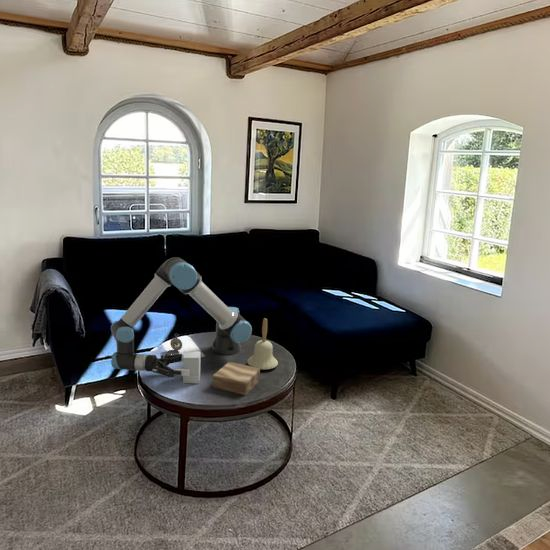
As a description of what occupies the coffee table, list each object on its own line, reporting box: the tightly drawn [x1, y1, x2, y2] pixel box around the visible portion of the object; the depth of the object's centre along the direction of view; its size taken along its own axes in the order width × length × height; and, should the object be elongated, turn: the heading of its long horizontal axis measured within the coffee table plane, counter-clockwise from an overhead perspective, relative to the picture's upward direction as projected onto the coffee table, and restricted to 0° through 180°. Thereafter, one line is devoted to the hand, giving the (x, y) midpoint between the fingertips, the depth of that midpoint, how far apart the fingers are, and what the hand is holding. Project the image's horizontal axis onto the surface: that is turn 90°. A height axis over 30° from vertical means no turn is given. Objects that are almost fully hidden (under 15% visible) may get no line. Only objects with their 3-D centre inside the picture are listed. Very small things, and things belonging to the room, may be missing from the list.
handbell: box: [246, 317, 279, 370], centre depth 244 cm, size 15×15×25 cm
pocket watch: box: [166, 333, 183, 355], centre depth 253 cm, size 8×8×10 cm
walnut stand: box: [212, 361, 261, 396], centre depth 225 cm, size 16×16×6 cm
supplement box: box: [182, 351, 202, 384], centre depth 225 cm, size 7×7×13 cm
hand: (192, 366), depth 225 cm, fingers open, 13 cm apart
